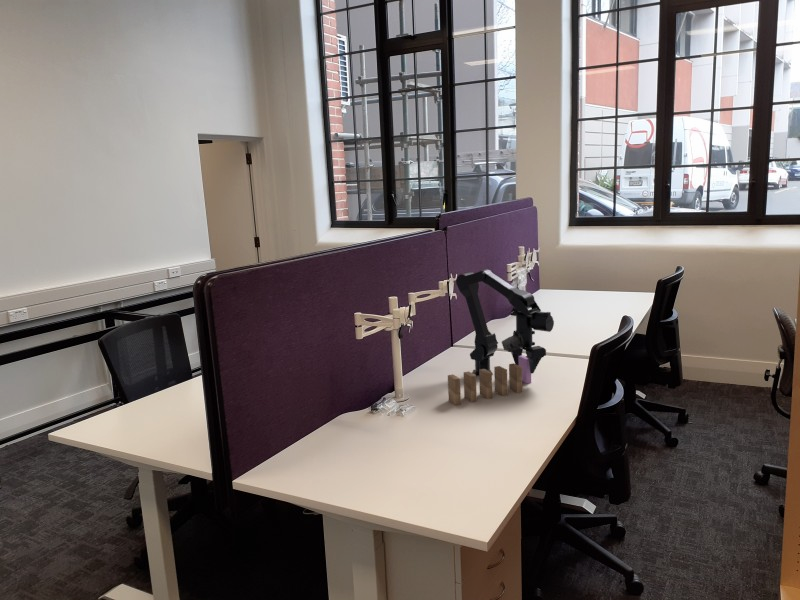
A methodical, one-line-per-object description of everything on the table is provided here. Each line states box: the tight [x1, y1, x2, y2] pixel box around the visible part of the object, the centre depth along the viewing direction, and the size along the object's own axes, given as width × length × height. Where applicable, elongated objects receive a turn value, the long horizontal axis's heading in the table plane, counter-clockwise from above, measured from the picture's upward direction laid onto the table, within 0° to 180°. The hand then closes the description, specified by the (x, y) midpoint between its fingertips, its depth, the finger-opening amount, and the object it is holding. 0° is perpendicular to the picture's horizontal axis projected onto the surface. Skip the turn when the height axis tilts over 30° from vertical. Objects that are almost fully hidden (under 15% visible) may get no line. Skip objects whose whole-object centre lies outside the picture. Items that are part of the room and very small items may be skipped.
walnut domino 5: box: [508, 362, 523, 394], centre depth 213 cm, size 2×5×9 cm, turn 23°
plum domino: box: [519, 354, 532, 384], centre depth 222 cm, size 2×5×9 cm, turn 23°
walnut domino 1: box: [447, 374, 462, 406], centre depth 204 cm, size 2×5×9 cm, turn 23°
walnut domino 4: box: [493, 365, 508, 397], centre depth 210 cm, size 2×5×9 cm, turn 23°
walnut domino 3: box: [478, 369, 493, 400], centre depth 208 cm, size 2×5×9 cm, turn 23°
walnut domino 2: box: [463, 371, 478, 403], centre depth 206 cm, size 2×5×9 cm, turn 23°
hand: (524, 370), depth 222 cm, fingers open, 9 cm apart
